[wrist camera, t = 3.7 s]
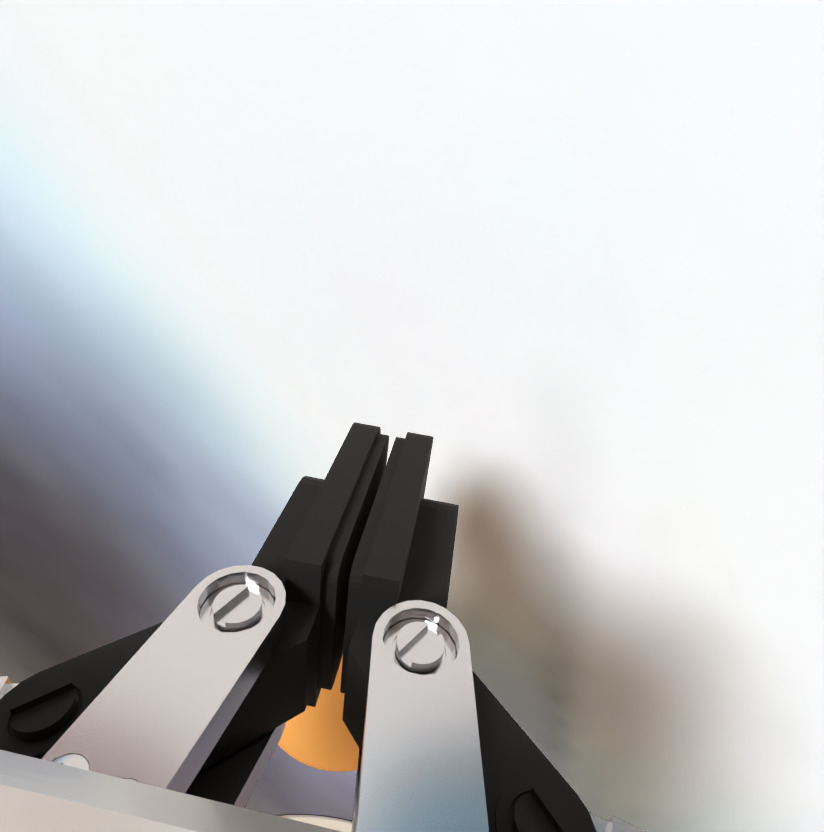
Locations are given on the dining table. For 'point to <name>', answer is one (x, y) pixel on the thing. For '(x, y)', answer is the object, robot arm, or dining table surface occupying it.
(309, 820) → the cream disc
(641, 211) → the dining table surface
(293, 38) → the dining table surface
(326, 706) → the ball
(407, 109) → the dining table surface
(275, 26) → the dining table surface
